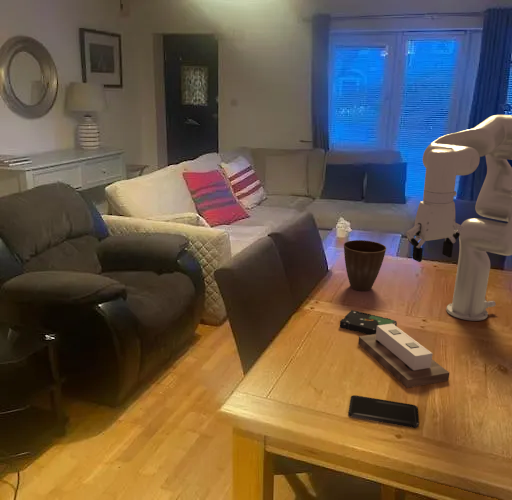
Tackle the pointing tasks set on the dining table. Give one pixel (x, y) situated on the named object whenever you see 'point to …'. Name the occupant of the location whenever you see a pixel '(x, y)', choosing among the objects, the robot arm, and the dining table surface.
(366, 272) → the plant pot
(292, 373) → the dining table surface
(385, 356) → the slot board
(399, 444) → the dining table surface
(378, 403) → the phone
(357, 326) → the disk drive
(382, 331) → the power strip
